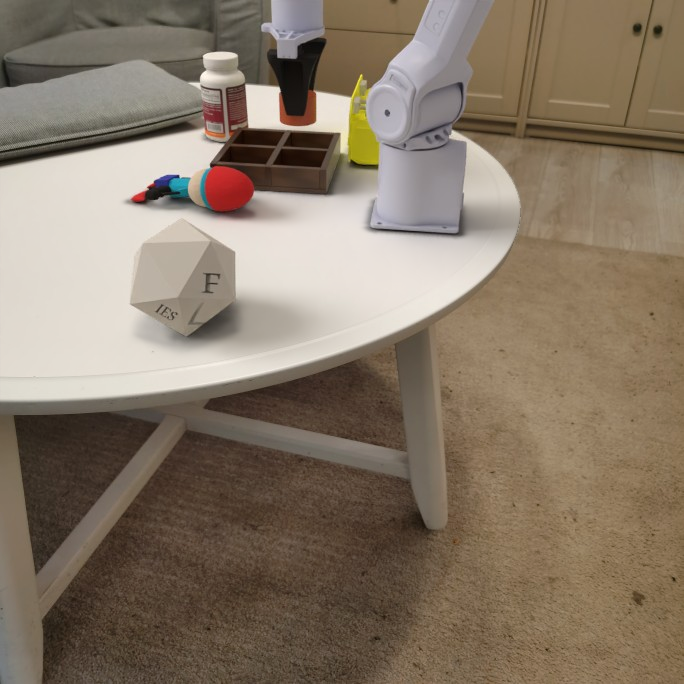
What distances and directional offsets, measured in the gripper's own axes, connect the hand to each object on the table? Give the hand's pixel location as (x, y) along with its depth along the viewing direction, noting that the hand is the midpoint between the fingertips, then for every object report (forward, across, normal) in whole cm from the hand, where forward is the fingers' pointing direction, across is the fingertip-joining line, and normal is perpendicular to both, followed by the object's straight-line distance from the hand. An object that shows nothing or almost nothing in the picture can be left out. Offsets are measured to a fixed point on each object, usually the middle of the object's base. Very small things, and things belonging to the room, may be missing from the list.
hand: (298, 108), depth 84 cm
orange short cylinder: (+1, 0, 0) cm, 1 cm away
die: (+9, +34, -4) cm, 35 cm away
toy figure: (+9, +10, -10) cm, 17 cm away
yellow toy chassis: (+9, -12, +8) cm, 17 cm away
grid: (+8, -2, -3) cm, 9 cm away
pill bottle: (+9, -14, -13) cm, 21 cm away
